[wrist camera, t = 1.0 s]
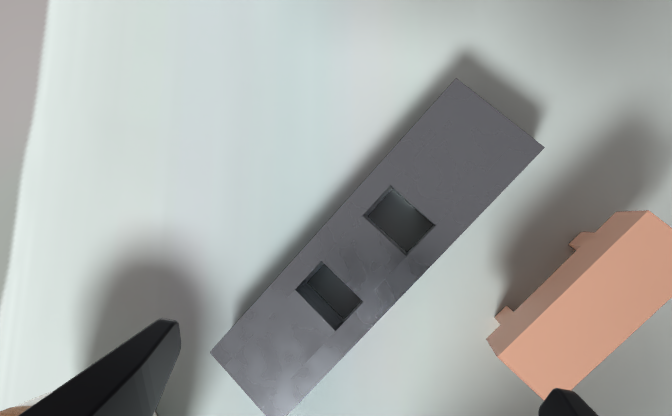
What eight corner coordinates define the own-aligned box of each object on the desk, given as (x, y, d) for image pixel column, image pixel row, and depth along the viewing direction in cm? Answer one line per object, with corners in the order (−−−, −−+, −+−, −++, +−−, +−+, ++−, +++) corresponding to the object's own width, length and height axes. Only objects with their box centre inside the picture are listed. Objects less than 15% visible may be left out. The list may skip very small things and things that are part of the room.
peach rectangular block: (631, 249, 20) (712, 259, 15) (516, 360, 21) (551, 407, 16) (586, 213, 21) (648, 210, 15) (476, 322, 22) (497, 356, 16)
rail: (529, 155, 21) (544, 147, 19) (289, 405, 24) (275, 427, 21) (451, 93, 22) (456, 78, 20) (229, 339, 25) (209, 352, 22)
